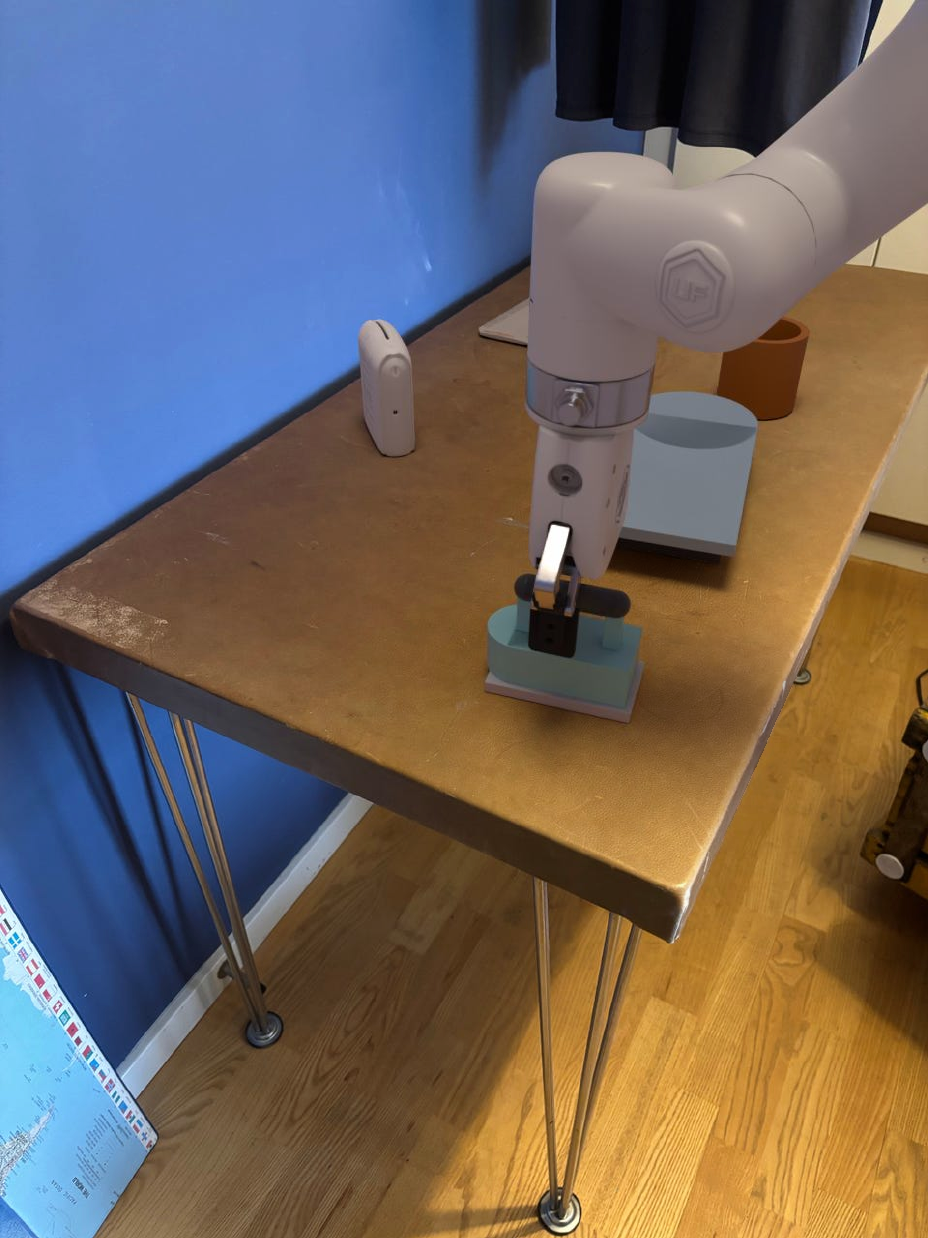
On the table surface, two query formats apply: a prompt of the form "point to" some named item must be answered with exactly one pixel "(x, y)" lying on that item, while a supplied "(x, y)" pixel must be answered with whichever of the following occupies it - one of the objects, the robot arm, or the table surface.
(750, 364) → the brown cup
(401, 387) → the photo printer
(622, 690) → the iron
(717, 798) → the table surface
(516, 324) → the grooming comb
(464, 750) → the table surface
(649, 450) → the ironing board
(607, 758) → the table surface
